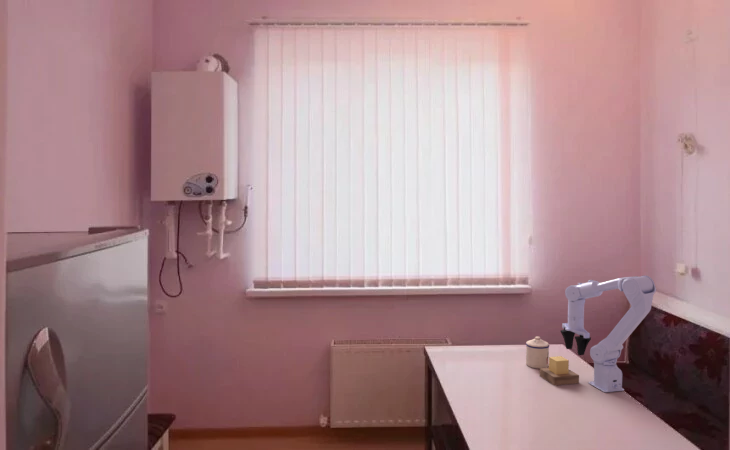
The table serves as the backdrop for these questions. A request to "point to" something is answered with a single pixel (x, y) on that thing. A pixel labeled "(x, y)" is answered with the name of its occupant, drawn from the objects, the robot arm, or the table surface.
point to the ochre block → (558, 365)
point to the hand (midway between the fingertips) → (574, 351)
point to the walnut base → (559, 377)
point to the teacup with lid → (537, 353)
